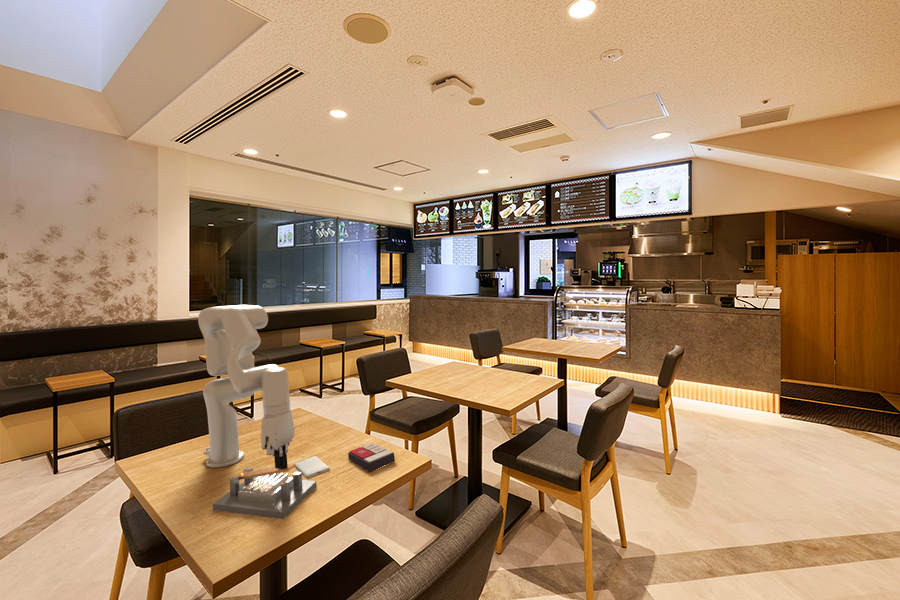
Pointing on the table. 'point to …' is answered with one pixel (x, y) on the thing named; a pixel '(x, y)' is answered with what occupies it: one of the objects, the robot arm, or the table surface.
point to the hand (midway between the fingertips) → (281, 467)
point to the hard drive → (311, 466)
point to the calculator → (371, 457)
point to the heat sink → (266, 487)
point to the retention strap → (264, 472)
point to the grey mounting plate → (264, 503)
